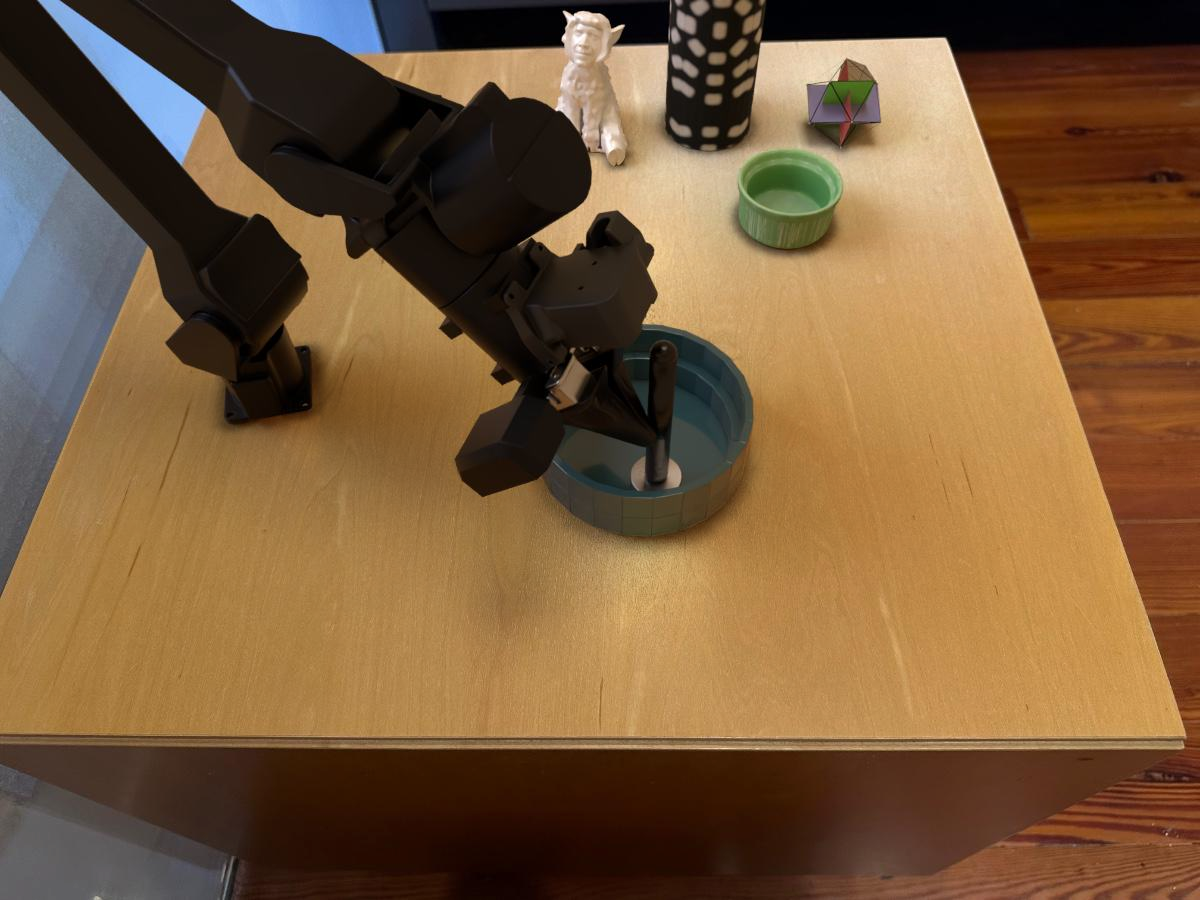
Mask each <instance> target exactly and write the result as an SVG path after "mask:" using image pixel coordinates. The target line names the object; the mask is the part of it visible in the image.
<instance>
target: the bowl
mask: <svg viewBox="0 0 1200 900" xmlns="http://www.w3.org/2000/svg"><path fill="white" fill-rule="evenodd" d="M661 340H666V341H669V342H671V343H673V344H674V346H675V347H676V349H677V353H678V355H677V368H676V380H675V393H674V405H673V418H672V430H671V443H670V456H669V458H671V459H673V460H674V461H675V462H676V463H677V464H678V465H679V467H680V469H681V471H682V486H680V487H675V488H669V489H664V490H658V491H633V490H630V472H631V469H632V467H633V465H634V464H635V463H636V462H637V461H638V460H639V459H641V458H642V457H645V456H646V447H640V446H637V445H634V444H630V443H627V442H624V441H621V440H618V439H614V438H611V437H608V436H605V435H602V434H598V433H595V432H593V431H588V430H585V429H581V428H577V427H572V426H567V425H564V427H565V432H566V434H565V436H564V438H563V440H562V442H561V444H560V446H559V448H558V450H557V452H556V454H555V456H554V458H553V460H552V462H551V464H550V466H549V468H548V470H547V471H546V472H545V473H544V474H543V475H542V476H541V477H542V479H543V481H544V483H545V485H546V487H547V489H548V490H549V492H550V494H551V496H552V497H553V498H554V499H555V500H556V501H557V502H558V503H559V504H560V505H561V506H562V507H563V508H564V509H565V510H566V511H567V512H568V513H569V514H571V516H574V517H576V518H577V519H579V520H581V521H583V522H584V523H586V524H588V525H590V526H591V527H594V528H595V529H598V530H602V531H606V532H609V533H613V534H617V535H620V536H629V537H649V538H650V537H657V536H663V535H669V534H674V533H679V532H682V531H684V530H686V529H689V528H690V527H691V528H692V527H693V526H695V525H698V524H700V523H702V522H705V521H706V520H708V519H709V518H710V517H711V516H712V515H714V514H715V513H716V512H717V511H719V510H720V509H722V507H723V506H725V505H726V503H727V502H728V501H729V499H730V498H731V496H732V495H733V493H734V492H735V490H736V489H737V487H738V486H739V485H740V483H741V479H742V476H743V473H744V469H745V466H746V463H747V457H748V453H749V448H750V443H751V438H752V433H753V428H754V423H755V422H754V421H755V415H754V399H753V398H754V397H753V395H752V393H751V389H750V387H749V384H748V382H747V379H746V377H745V375H744V373H743V372H742V371H741V370H740V368H739V367H738V366H737V364H736V363H735V361H734V360H733V359H732V358H731V357H730V356H729V355H727V354H726V353H725V351H722V349H720V348H719V347H717V346H716V345H715V344H713V343H712V342H711V341H709V340H707V339H705V338H703V337H701V336H699V335H696V334H695V333H692V332H690V331H688V330H685V329H680V328H676V327H672V326H667V325H663V324H654V323H652V324H651V323H643V324H642V331H641V333H640V335H639V336H638V338H637V339H636V340H635V341H634V342H632V343H631V344H629V345H627V346H625V347H624V351H623V361H624V364H625V367H626V369H627V372H628V375H629V377H630V380H631V382H632V384H633V387H634V389H635V392H636V393H637V395H638V397H639V399H640V402H641V404H642V406H643V408H644V410H645V412H646V414H647V409H648V385H649V362H650V350H651V348H652V346H653V345H654V344H655V343H656V342H658V341H661Z"/></svg>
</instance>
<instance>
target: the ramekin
mask: <svg viewBox="0 0 1200 900" xmlns="http://www.w3.org/2000/svg"><path fill="white" fill-rule="evenodd" d="M737 189H738V192H739V193H738V219H739V222H740V225H741V227H742V229H743V230H744V232H745V233H746V234H747V235H748V236H750V237H751V238H752V239H754V241H757V242H758V243H760V244H763V245H764V246H769V247H772V248H776V249H784V250H785V249H787V250H789V249H792V250H793V249H799V248H804V247H807V246H809V245H812V244H814V243H815V242H817V241H819V240H820V239H821V238H822V237H823V236H824V235H825V234H826V232H827V231H828V229H829V227H830V224H831V223H832V222H831V221H832V218H833V217H834V216H833V215H834V212H835V210H836V207H837V205H838V204H839V202H840V200H841V198H842V195H843V192H844V181H843V177H842V175H841V173H840V171H839V170H838V168H837V167H836V165H834V164H833V163H832V162H831V161H830V160H828V159H827V158H826V157H823V156H822V155H820V154H818V153H815V152H813V151H810V150H805V149H802V148H793V147H778V148H771V149H768V150H764V151H761V152H758V153H756V154H754V155H753V156H751V157H750V158H748V159H747V160H746V161H745V162H744V163H743V164H742V165H741V167H740V168H739V171H738V173H737Z"/></svg>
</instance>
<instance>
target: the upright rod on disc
mask: <svg viewBox="0 0 1200 900" xmlns="http://www.w3.org/2000/svg"><path fill="white" fill-rule="evenodd" d="M677 355H678V353H677V349H676V347H675V346H674V344H673V343H671V342H669V341H666V340H661V341H658V342H656V343H655V344H654V345H653V346H652V348H651V350H650V362H649V385H648V409H647V416H648V419H649V421H650V423H651V425H652V427H653V429H654V431H655V433H656V436H657V438H656V441H655V443H654V445H651V446H648V447H646V456H645V457H642V458H641V459H639V460H638V461H637V462H636V463H635V464H634V465H633V467H632V469H631V472H630V490H633V491H658V490H664V489H669V488H675V487H680V486H682V471H681V469H680V467H679V465H678V464H677V463H676V462H675V461H674V460H673V459H671V458H669V456H670V443H671V430H672V418H673V405H674V393H675V380H676V368H677Z"/></svg>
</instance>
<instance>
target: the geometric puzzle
mask: <svg viewBox="0 0 1200 900" xmlns="http://www.w3.org/2000/svg"><path fill="white" fill-rule="evenodd" d="M840 63H842V64H841V65H840V67H839V68H838V69H837V70H836V72H835V73H834V75H832V77H831V78H830V79H829V80H827V81H820V82H815V83H814V82H812V83H806V93H807V95H806V96H807V107H808V108H807V110H808V124H809V125H811V126H812V127H815V129H816V130H818V131H819V132H820V133H822V134H823V135H824V136H825V137H827V138H828V139H830V140H831V141H832V142H833V143H834V144H835V145H836V146H838V147H839V149H842V147H844V146H846V145H847V144H849V143H850V142H852V141H854V140H855V139H857V138H858V137H860V136H862V135H863V133H862V134H860V135H858V136H856V137H855V138H853V139H852V140H850V141H848V142H847V143H846V141H847V140H848V138H849V137H850V135H851V134H852V133H853V131H854V129H855V128H856V126H858V124H860V125H869V124H876V125H874V126H873V127H871V128H869V129H868V130H866V131H865V133H866V132H868V131H869V130H870V131H871V130H872V129H873V128H875V127H876V126H878V125H880V124H882V123H883V121H882V117H881V116H882V115H881V106H880V95H879V82H877V79H876V78H874V76H873V74H872V73H871V71H870V70H869V68H868V67H867V65H865V64H863V63H860V62H858V61H855V60H852V59H850V58H848V57H845V59H844V60H842V61H840V62H839V63H838V64H836V65H834V66H833V67H832V68H830V69H828V70H827V71H825V72H824V73H822V74H821V75H820V76H818V78H820V77H821V76H822V75H824V74H826V73H827V72H828V71H830V70H831V69H832V70H833V68H835V67H836V66H837V65H839V64H840ZM838 72H839V74H838ZM837 74H838V77H837V80H833V79H834V77H835V76H836V75H837ZM826 83H827V84H826ZM852 125H854V126H853V127H852V129H851V126H852ZM818 126H839V127H838V128H839V141H840V142H839V143H840V145H839V143H838V142H836V141H835V140H833V139H832V138H831V137H830V136H828V134H826V132H824V131H823V130H822V129H821V128H819V127H818ZM850 129H851V131H850ZM849 131H850V132H849ZM848 133H849V134H848ZM845 143H846V144H845Z"/></svg>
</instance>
